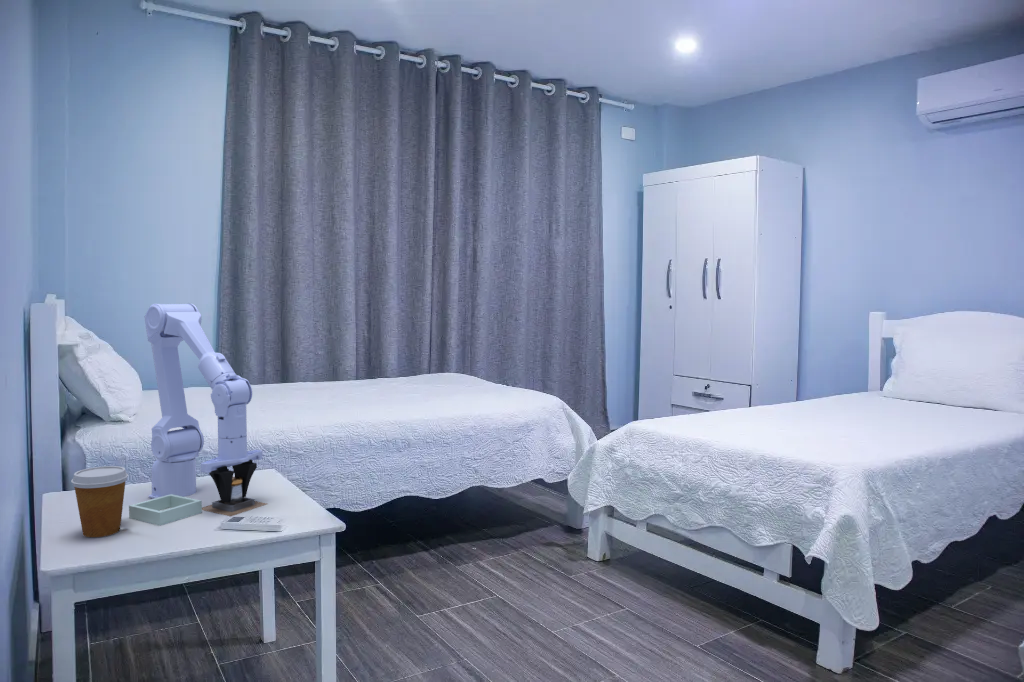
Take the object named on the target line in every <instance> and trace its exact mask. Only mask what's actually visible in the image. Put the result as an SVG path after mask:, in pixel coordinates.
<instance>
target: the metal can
mask: <svg viewBox="0 0 1024 682" xmlns="http://www.w3.org/2000/svg"><path fill="white" fill-rule="evenodd" d="M242 483H243V478H242V477H238V476H235V475H233V478H232V483H231V498H230V502H224V503H225V504H228V505H235V504H238V503H241V502H243V499H242Z"/></svg>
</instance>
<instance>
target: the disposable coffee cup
mask: <svg viewBox="0 0 1024 682" xmlns="http://www.w3.org/2000/svg"><path fill="white" fill-rule="evenodd" d="M128 477H129V473H127V471H126V468H125V467H124V466H119V465H118V466H117V465H116V466H115V465H106V466H104V465H103V466H95V467H89V468H85V469H81V470H78V471H76V472H74V473H73V478H72V479H71V481H70V482H71V484H72V486H73V487H74V491H75V497H76V498H75V499H76V503H77V509H78V514H79V519H80V520H79V521H80V527H81V531H82V536H83V537H85V538H102V537H109V536H112V535H114V534H116V533H119V532H120V531H121V524H122V516H123V509H124V507H123V506H124V497H125V489H126V481H127V479H128Z"/></svg>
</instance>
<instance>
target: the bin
mask: <svg viewBox="0 0 1024 682" xmlns="http://www.w3.org/2000/svg"><path fill="white" fill-rule="evenodd" d="M202 503H203V501H202V500H201V499H196V498H190V497H188V496H184V497H182V496H178V495H173V494H170V495H166V496H161V497H158V498H151V499H148V500H146V501H145V500H144V501H141V502H138V503H134V504H130V505H128V516H129V517H128V518H129V519H132V520H135V521H141V522H143V523H148V524H152V525H154V526H155V525H156V526H158V527H159V526H163V525H166V524H171V523H173V522H176V521H180V520H182V519H185V518H188V517H189V518H190V517H192V516H193V517H194V516H196V515H199V514H202V512H203V510H202V507H203V504H202Z"/></svg>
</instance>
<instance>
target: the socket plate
mask: <svg viewBox="0 0 1024 682" xmlns="http://www.w3.org/2000/svg"><path fill="white" fill-rule="evenodd" d="M242 499H243V502H241V503H238V504H235V505H228V504H225V503H224V502H223V501H221V499H219V500H216V501H212V502H211V503H212V504H210V505H207V506H204V507H203V506H202V511H205V512H210V513H214V514H218V515H223V516H227V517H233V516H236V515H240V514H243V513H244V512H248V511H251V510H254V509H258V508H261V507H262V506H263V507H264V506H266V505H268V503H267V502H262V501H256V500H255V499H254V498H250V497H247V496H246V497H242Z"/></svg>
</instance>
